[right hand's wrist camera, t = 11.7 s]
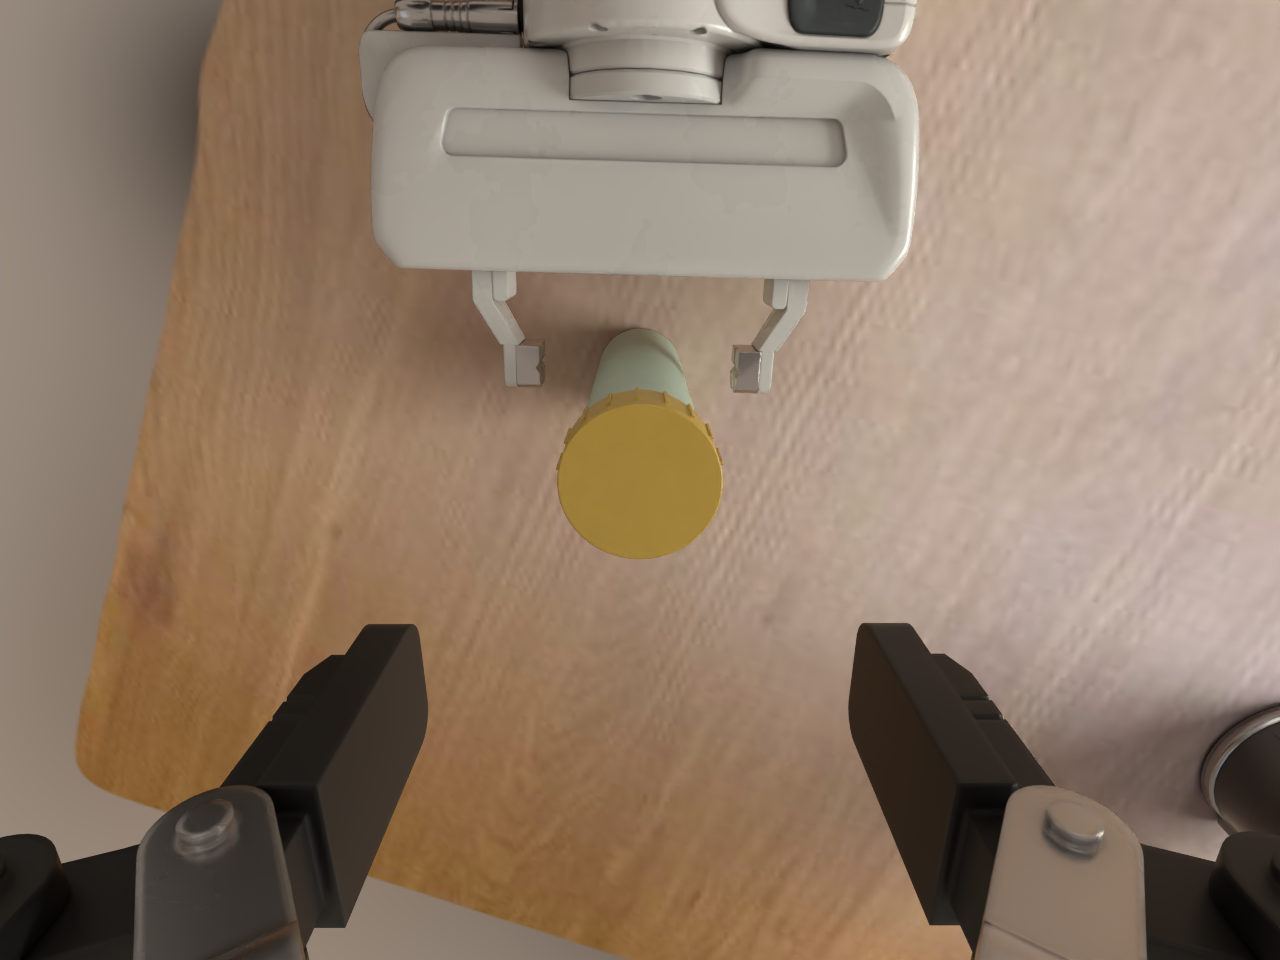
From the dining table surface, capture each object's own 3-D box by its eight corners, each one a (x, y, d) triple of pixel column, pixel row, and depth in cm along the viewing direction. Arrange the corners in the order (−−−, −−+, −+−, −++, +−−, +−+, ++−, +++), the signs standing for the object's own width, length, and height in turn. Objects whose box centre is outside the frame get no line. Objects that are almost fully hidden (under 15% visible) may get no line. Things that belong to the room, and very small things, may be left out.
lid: (599, 555, 23) (595, 583, 21) (536, 420, 21) (526, 438, 19) (739, 504, 22) (748, 528, 20) (685, 361, 21) (689, 374, 19)
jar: (618, 419, 37) (602, 562, 21) (586, 346, 35) (545, 441, 20) (691, 391, 36) (730, 516, 21) (663, 315, 35) (681, 388, 19)
